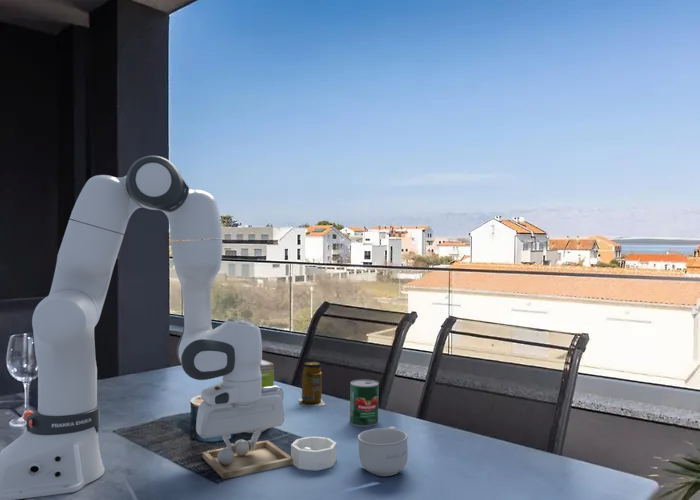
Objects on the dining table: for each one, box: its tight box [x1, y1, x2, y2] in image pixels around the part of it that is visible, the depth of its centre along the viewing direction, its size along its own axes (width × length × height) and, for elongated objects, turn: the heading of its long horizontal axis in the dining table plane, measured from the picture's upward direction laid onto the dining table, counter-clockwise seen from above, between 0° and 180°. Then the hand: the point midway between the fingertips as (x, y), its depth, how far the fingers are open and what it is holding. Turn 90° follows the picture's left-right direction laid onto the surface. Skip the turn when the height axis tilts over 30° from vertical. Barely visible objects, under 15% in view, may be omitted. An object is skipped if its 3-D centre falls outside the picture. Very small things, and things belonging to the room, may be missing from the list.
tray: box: [201, 439, 294, 480], centre depth 130 cm, size 16×14×2 cm
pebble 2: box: [233, 438, 249, 456], centre depth 133 cm, size 4×4×4 cm
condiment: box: [297, 361, 326, 407], centre depth 180 cm, size 7×8×12 cm
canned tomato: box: [349, 379, 380, 428], centre depth 160 cm, size 8×8×11 cm
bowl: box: [290, 435, 338, 471], centre depth 129 cm, size 9×9×5 cm
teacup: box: [357, 426, 409, 477], centre depth 128 cm, size 14×11×8 cm
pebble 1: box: [217, 447, 234, 465], centre depth 127 cm, size 4×4×4 cm
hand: (241, 450), depth 133 cm, fingers closed on pebble 2, 4 cm apart
